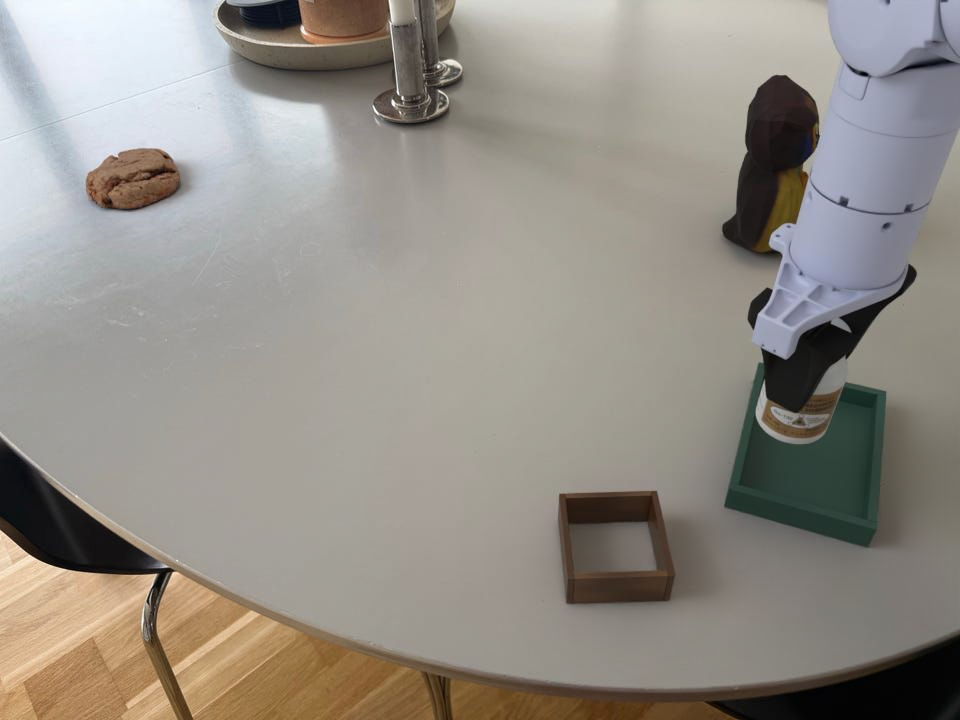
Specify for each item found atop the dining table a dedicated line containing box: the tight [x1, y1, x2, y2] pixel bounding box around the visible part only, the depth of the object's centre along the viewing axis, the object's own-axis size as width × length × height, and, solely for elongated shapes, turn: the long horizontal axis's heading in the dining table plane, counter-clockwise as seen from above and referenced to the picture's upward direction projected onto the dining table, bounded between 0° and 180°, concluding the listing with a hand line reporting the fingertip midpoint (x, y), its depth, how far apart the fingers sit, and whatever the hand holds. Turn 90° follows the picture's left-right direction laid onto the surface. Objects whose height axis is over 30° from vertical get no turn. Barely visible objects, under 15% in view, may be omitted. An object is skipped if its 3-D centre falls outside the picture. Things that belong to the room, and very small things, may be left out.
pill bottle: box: [756, 318, 851, 444], centre depth 49 cm, size 4×4×8 cm
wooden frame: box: [557, 490, 676, 604], centre depth 52 cm, size 6×6×3 cm
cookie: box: [85, 147, 181, 210], centre depth 89 cm, size 10×11×3 cm
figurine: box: [721, 74, 820, 253], centre depth 73 cm, size 10×7×15 cm
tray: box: [723, 361, 887, 548], centre depth 58 cm, size 13×9×2 cm
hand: (804, 380), depth 49 cm, fingers closed on pill bottle, 4 cm apart
